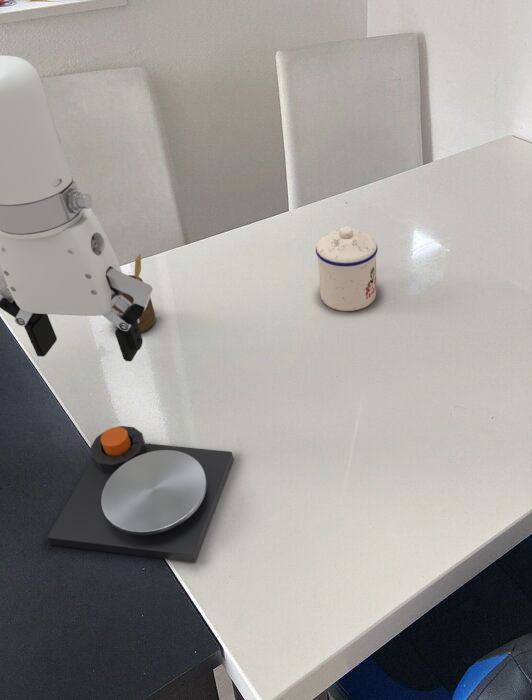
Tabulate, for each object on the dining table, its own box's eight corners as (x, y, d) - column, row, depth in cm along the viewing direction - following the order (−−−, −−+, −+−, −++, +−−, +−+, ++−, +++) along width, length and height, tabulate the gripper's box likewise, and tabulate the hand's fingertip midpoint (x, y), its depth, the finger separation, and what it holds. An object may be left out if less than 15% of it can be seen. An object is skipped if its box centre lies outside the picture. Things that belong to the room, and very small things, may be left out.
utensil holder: (125, 310, 104) (105, 242, 96) (164, 313, 103) (147, 244, 95) (108, 333, 100) (85, 264, 92) (149, 337, 99) (129, 267, 91)
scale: (50, 545, 72) (41, 528, 70) (110, 441, 83) (103, 423, 81) (195, 563, 70) (190, 546, 68) (236, 453, 81) (232, 436, 79)
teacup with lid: (380, 311, 102) (379, 244, 94) (319, 314, 102) (314, 247, 94) (374, 268, 111) (373, 203, 104) (318, 270, 111) (314, 206, 103)
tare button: (100, 455, 78) (96, 444, 77) (111, 436, 80) (107, 425, 79) (124, 457, 77) (121, 447, 76) (135, 438, 80) (131, 428, 79)
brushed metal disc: (84, 529, 70) (82, 525, 69) (127, 449, 78) (126, 445, 78) (187, 541, 68) (185, 537, 68) (219, 458, 76) (218, 454, 76)
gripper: (141, 188, 63) (179, 332, 74) (-29, 184, 65) (32, 325, 76) (109, 228, 57) (155, 378, 68) (-77, 223, 60) (-4, 369, 71)
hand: (90, 350), depth 72 cm, fingers open, 9 cm apart
